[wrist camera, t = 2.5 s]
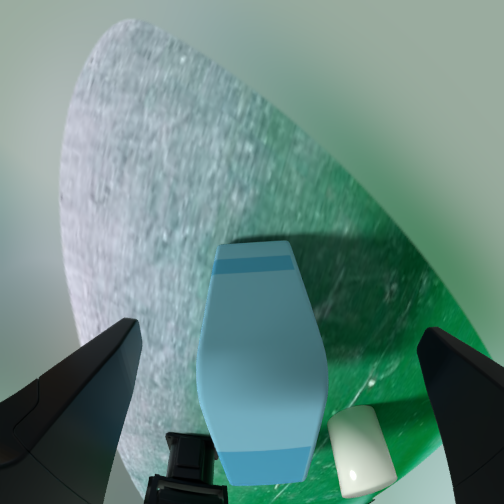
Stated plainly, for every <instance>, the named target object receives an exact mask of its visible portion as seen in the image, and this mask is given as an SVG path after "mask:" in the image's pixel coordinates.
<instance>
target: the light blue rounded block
mask: <svg viewBox="0 0 504 504" xmlns="http://www.w3.org/2000/svg"><path fill="white" fill-rule="evenodd" d="M196 380H197V392H198V398H199V403H200V406H201V409H202V412H203V415H204V418H205V421H206V424H207V427H208V429H209V432H210V435H211V437H212V440H213V443H214V445H215V448H216V451H217V453H218V456H219V458H220V461H221V463H222V466H223V468H224V471H225V473H226V475H227V478H228V480H229V482H230V484H231V485H233V486H251V485H271V484H283V483H293V482H302V481H304V480H305V479H306V477H307V474H308V470H309V467H310V464H311V460H312V457H313V453H314V450H315V446H316V442H317V438H318V434H319V431H320V427H321V423H322V418H323V414H324V410H325V406H326V401H327V396H328V366H327V359H326V353H325V348H324V345H323V341H322V338H321V335H320V332H319V329H318V325H317V322H316V319H315V316H314V313H313V310H312V307H311V304H310V301H309V298H308V295H307V292H306V289H305V286H304V283H303V280H302V277H301V274H300V271H299V268H298V265H297V262H296V259H295V257H294V254H293V251H292V248H291V245H290V243H289V242H288V241H268V242H252V243H236V244H221V245H219V246H218V247H217V250H216V255H215V260H214V265H213V270H212V275H211V280H210V286H209V291H208V296H207V302H206V307H205V312H204V318H203V323H202V329H201V335H200V340H199V346H198V352H197V362H196Z"/></svg>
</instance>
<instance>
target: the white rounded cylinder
mask: <svg viewBox="0 0 504 504" xmlns="http://www.w3.org/2000/svg"><path fill="white" fill-rule="evenodd" d="M327 427H328V431H329V436H330V440H331V445H332V450H333V454H334V459H335V464H336V468H337V473H338V478H339V483H340V488H341V493H342V497H343V498H354V497H360V496H364V495H367V494H371V493H374V492H376V491H379V490H381V489H383V488H385V487H387V486H389V485H391V484H392V483H394V482H395V481H396V480H397V476H396V472H395V469H394V466H393V463H392V460H391V457H390V454H389V451H388V448H387V445H386V442H385V439H384V436H383V433H382V430H381V427H380V425H379V422H378V419H377V416H376V413H375V411H374V408H373V407H371V406H368V405H359V406H354V407H350V408H347V409H345V410H342V411H340V412H338V413H337V414H335V415H334V416H333V417H331V418H330V420H329V421H328V423H327Z"/></svg>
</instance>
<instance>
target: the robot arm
mask: <svg viewBox="0 0 504 504" xmlns="http://www.w3.org/2000/svg"><path fill="white" fill-rule="evenodd" d="M141 351H142V337H141V331H140V326H139V322H138V320H137V319H132V318H123V319H121V320H120V321H118V322H117V323H115V324H114V325H112V326H111V327H110V328H108V329H107V330H105V331H104V332H102V333H101V334H99V335H98V336H97V337H95V338H94V339H92V340H91V341H89V342H88V343H86V344H85V345H84V346H82V347H81V348H79V349H78V350H76V351H75V352H74V353H72V354H71V355H69V356H68V357H66V358H65V359H64V360H62V361H61V362H60V363H58V364H57V365H55V366H54V367H52V368H51V369H50V370H48V371H47V372H45V373H44V374H42V375H41V376H40V377H39V379H35V380H34V381H33V382H31V383H30V384H28V385H27V386H25V387H24V388H23V389H21V390H20V391H18V392H17V393H15V394H14V395H12V396H10V397H9V398H7V399H5V400H4V401H2V402H0V504H103V501H104V497H105V493H106V488H107V484H108V480H109V476H110V472H111V468H112V464H113V460H114V456H115V452H116V449H117V445H118V442H119V438H120V435H121V431H122V428H123V424H124V421H125V417H126V414H127V411H128V408H129V404H130V401H131V398H132V394H133V390H134V386H135V380H136V375H137V370H138V365H139V360H140V355H141ZM417 355H418V358H419V362H420V366H421V370H422V374H423V378H424V382H425V386H426V390H427V393H428V396H429V399H430V402H431V405H432V408H433V412H434V415H435V418H436V421H437V425H438V428H439V432H440V435H441V439H442V442H443V446H444V450H445V454H446V458H447V462H448V467H449V471H450V475H451V480H452V485H453V491H454V496H455V502H456V504H504V367H502V366H500V365H499V364H497V363H496V362H495V361H493V360H491V359H490V358H488V357H487V356H485V355H483V354H482V353H480V352H478V351H477V350H475V349H474V348H472V347H470V346H469V345H467V344H465V343H464V342H462V341H460V340H459V339H457V338H456V337H454V336H452V335H451V334H449V333H447V332H446V331H444V330H442V329H441V328H439V327H429V328H427V329H426V330H425V332H424V334H423V336H422V338H421V340H420V342H419V344H418V346H417ZM165 437H166V440H167V444H168V447H169V450H170V455H169V461H168V468H167V475H166V477H165V476H160V475H159V474H155V476H150V477H149V481H148V487H147V491H146V495H145V500H144V504H228V493H227V486H225V485H222V486H219V485H213V475H214V460H218V453H217V451H216V448H215V445H214V443H213V440H212V438H207V437H196V436H187V435H179V434H172V433H166V436H165ZM158 488H159V490H158Z"/></svg>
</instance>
